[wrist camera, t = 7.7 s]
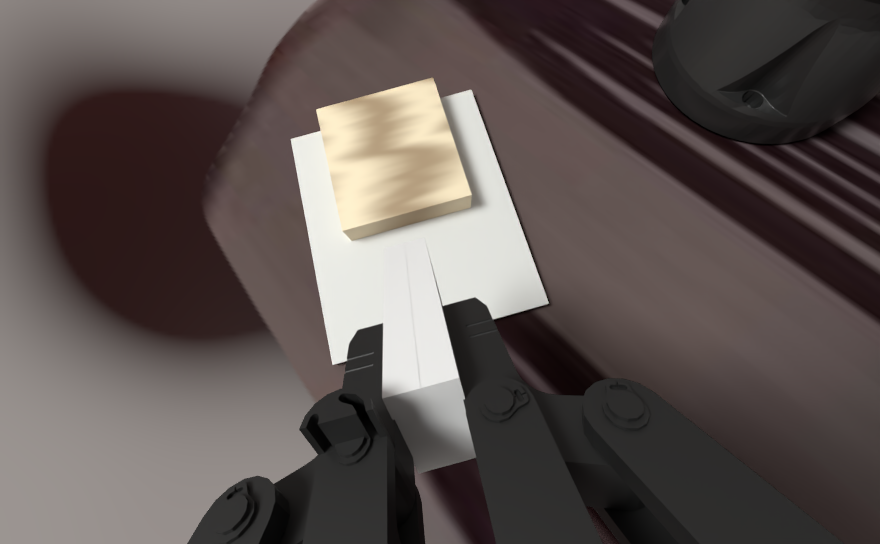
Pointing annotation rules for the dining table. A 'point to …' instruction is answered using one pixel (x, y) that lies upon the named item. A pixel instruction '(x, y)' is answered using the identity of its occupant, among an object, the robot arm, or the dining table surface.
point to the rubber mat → (447, 237)
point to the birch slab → (392, 160)
